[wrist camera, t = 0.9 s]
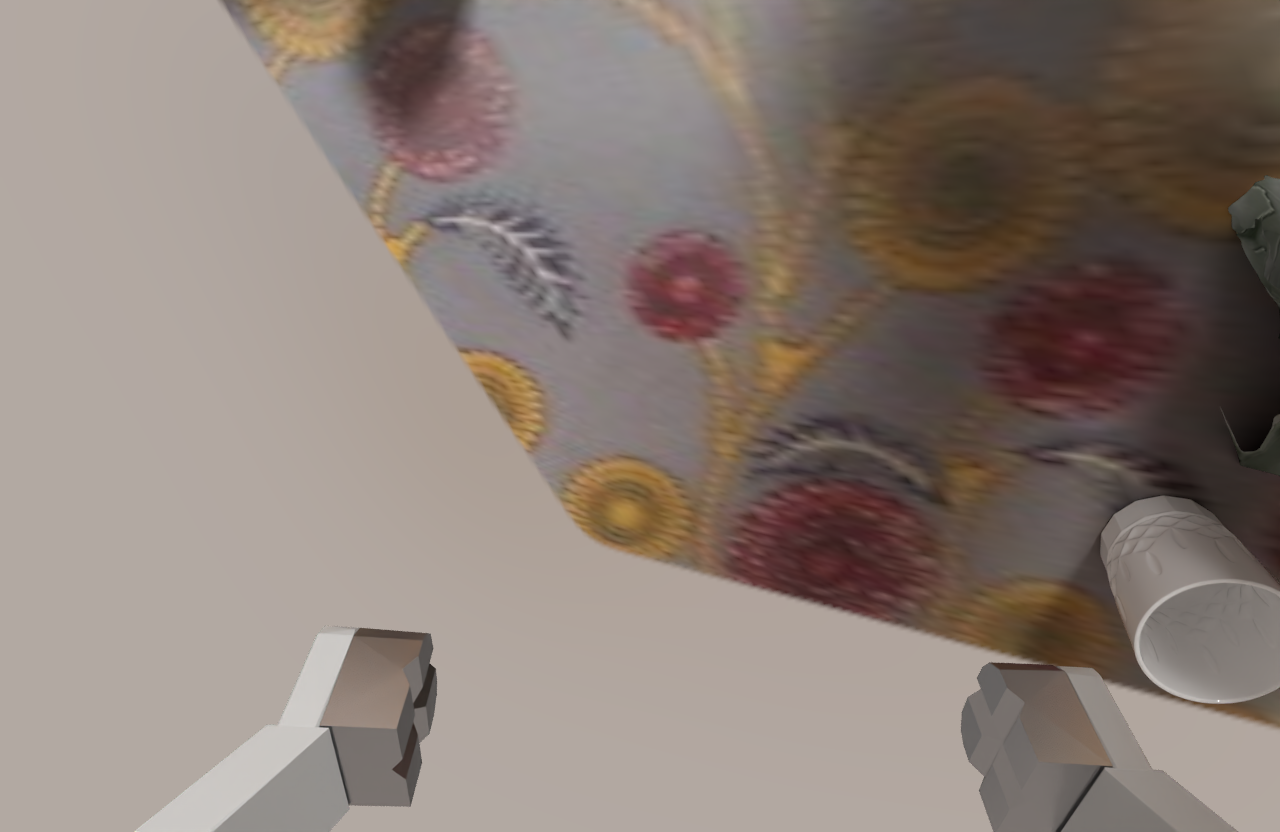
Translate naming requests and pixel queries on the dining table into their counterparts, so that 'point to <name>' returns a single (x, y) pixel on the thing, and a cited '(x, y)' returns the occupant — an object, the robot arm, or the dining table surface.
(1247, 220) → the rose bouquet
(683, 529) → the dining table surface
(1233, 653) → the white cup
